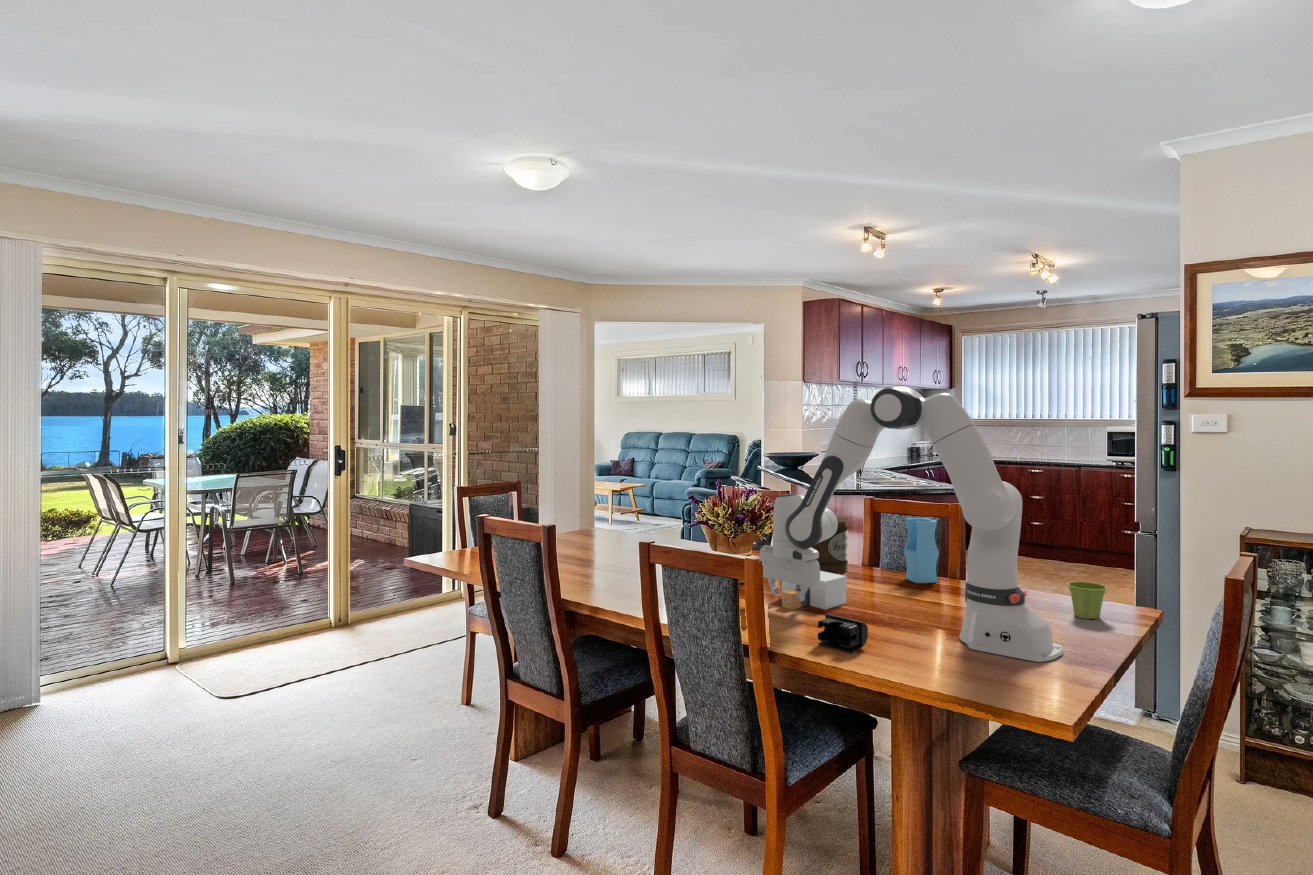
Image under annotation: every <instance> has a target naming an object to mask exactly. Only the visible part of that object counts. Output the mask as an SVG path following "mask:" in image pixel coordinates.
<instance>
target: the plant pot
mask: <svg viewBox="0 0 1313 875" xmlns="http://www.w3.org/2000/svg"><path fill="white" fill-rule="evenodd" d="M1067 586H1068V588H1069V592H1070V595H1071V596H1070V597H1071V601H1072V602H1071V603H1072V609H1073V610H1072V611H1073V616H1076V617H1077V618H1080V619H1084V620H1091V619H1094V620H1099V619H1100V618H1101V612H1102V605H1103V601H1104V595H1105V593H1106V591H1107V590H1108V587H1107V586H1106V585H1104V584H1101V583H1098V582H1097V583H1096V582H1091V581H1090V582H1089V581H1071V582H1070V581H1069V582H1067Z"/></svg>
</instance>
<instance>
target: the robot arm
mask: <svg viewBox="0 0 1313 875" xmlns="http://www.w3.org/2000/svg"><path fill="white" fill-rule="evenodd" d="M916 427H919V428H921V429H922V431H924V433H925V435H926V436H927V438H928V440H929V441H930V444H931V445H932V447H933V449H934V450H935V453H936V455H938V459H939V460H940V461H941V463H942V465H943V466H944V469H945V470H946V472H947V474H948V476H949V477H948V478H949V480H950V482H951V485H952V488H953V491H954V493H955V496H956V498H957V500H958V504H959V505H960V507H961V511H962V515H963V518H964V520H965V521H966V523H967V524H968V525H970V526H971V533H970V540H969V544H968V548H967V549H968V550H967V580H966V581H965V587H964V589H965V590H964V600H965V602H964V603H965V604H966V605H965V613H964V620H963V624H962V628H961V631H960V634H959V640H960V641H962V642H963V643H965V644H966V645H967V647H968V648H969V649H970V650H973V651H974V650H975V651H979V652H984V653H989V654H994V655H999V656H1005V657H1009V658H1016V659H1020V660H1025V661H1030V662H1037V663H1038V662H1039V663H1041V662H1048V661H1052V660H1055V659H1057V658H1059V657H1061V656H1062V655H1063V654H1064V648H1063V646H1062V645H1061V644H1057V643H1054V642H1053V634H1052V631H1051V627H1050V625H1049V623H1048V622H1047V621H1046V620H1045V619H1044V618H1042V617H1041V616H1040V615H1039V614H1037V613H1036V612H1035V610H1033V609H1032V608H1031V607H1030V606H1029V605H1027V604H1026V599H1025V598H1026V597H1027V596H1028V595H1029V594H1028V592H1029V591H1028V590H1025V591H1023V590H1022V589H1021V588H1020V587H1019V586H1018V560H1019V559H1018V557H1019V556H1018V554H1019V546H1020V537H1021V528H1022V516H1023V496H1022V494H1021V492H1020V491H1019V490H1018V489H1017V488H1016V486H1014V485H1012V484H1011V483H1010V482H1007V481H1003V480H1002V478H1001V475H1000V473H999V472H998V470H997V466H996V464H995V461H994V459H993V454H992V452H991V450H990V449H989V447H988V446H987V443H986V442H985V440H984V438H983V437H982V435H981V433H980V431H979V430H978V428H977V425H976V424H975V423H974V421H973V420H972V418H971V416H970V415H969V413H968V412H967V410H966V409H965V408H964V406H963V405H962V404H961V403H960V401H959V400H958V399H957V398H956V397H955V396H954V395H952V394H951V393H947V392H938V393H935V394H933V395H930V396H925V395H924V394H923V392H921V391H919V390H918V389H916V388H915V389H914V388H910V387H907V386H904V385H903V386H901V385H900V386H899V385H897V386H887V387H884V388H882V389H880V390H879V391H877V393H875V395H874V396H873V397H872V400H869V399H865V398H858V399H854V400H853V401H851V402H850V403H848V405H847V407H846V408H845V410H844V412H843V413H842V415H841V416H840V418H839V420H838V422H837V424H836V426H835V428H834V432H833V434H832V436H831V438H830V441H829V443H828V446H827V448H826V451H825V452H824V453H825V454H824V456H823V458H822V460H821V461H820V464H819V467H818V469H817V471H816V472H815V474H814V477H813V478H812V481H811V482H810V485H808V489H807V491H806V493H805V495H804V494H802V493H801V492H790V493H784V494H781V495H778V496H777V497H776V498H775V500H774V505H773V514H772V525H773V529H774V530H773V535H772V545H768V544H764V545H763V546H761V548H759V550H760V551H759V558H758V562H759V561H762V565H763V576H762V577H765V578H767V582H768V585H769V587H770V593H771V594H773V595H779V593H780V591H779V590H780V587H778V586H777V583H776V581H780V582H782V581H784V582H788V583H792V584H796V585H800V589H801V592H800V594H797V600H799V601H804V600H805V594H806V592H807V590H808V588H813V587H817V586H818V585H819V583H820V566H819V562H818V561H817V560H816V559H817V558H819V552H818V551H817V550H815V549H813V548H811V547H813V546H814V545H816V544H817V543H820V542H822V541H824V540H827V539H829V538H830V537H832V536H833V535H834V534H835V533H836V531H837V529H838V519H837V517H838V516H837V515H836V513H835V512H834V511H833V510H832V509H831V508H829V507H828V506H829V503H830V501H831V499H832V497H833V495H834V492H835V491H836V489H837V488H838V487H839V485H840V484H841V483H842V482H843V481H845V480H847V478H848V477H850V476H852V475H853V474H855V473H856V472H858V471H860V470H861V468H862V467H863V466H864V465H865V464H866V462H867V460H868V459H869V457H870V456H871V453H872V450H874V447H875V444H876V442H877V439H878V437H879V435H880V433H881V432H882V431H883V430H884V429H891V430H895V429H896V430H908V429H912V428H916Z"/></svg>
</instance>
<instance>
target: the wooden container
mask: <svg viewBox="0 0 1313 875" xmlns="http://www.w3.org/2000/svg"><path fill="white" fill-rule="evenodd" d="M836 517H837V519H838V529H837V531H836V533H835V534H834V535H833V536H832V537H830V538H829V539H827V540H824V541H822V542H820V543H817V544H816V545H814V546H813V547H811V548H813V549H815V550H817V551H818V552H819V558H817V559H816V560H817V561H818V562H819V566H820V571H824V572H829V573H833V574H838V575H842V574H844V573H847V572H848V568H849V567H848V562H849V560H848V559H849V556H848V555H849V540H848V538H849V532H848V531H849V530H848V529H849V520H848V519H847V518H846V517H841V516H836Z"/></svg>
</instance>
